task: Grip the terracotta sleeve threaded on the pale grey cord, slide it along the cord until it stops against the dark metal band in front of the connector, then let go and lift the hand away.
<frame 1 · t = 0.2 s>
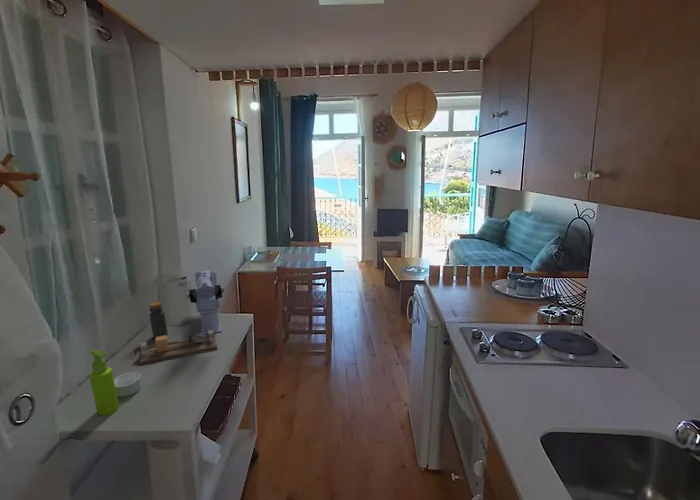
hand: (205, 298, 158), 21 cm above the worktop, tool horizontal, fingers open, 7 cm apart
sleeve: (162, 343, 161), point 4 cm above the worktop, slide at 0.0 cm
ramekin: (128, 391, 137), on the worktop
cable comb: (179, 349, 164), on the worktop
soap dispenser: (109, 410, 126), on the worktop
bottle: (160, 336, 177), on the worktop
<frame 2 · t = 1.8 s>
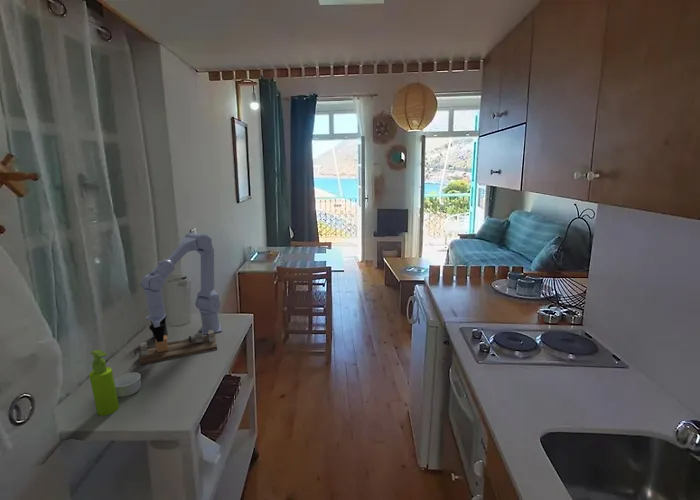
hand: (160, 337, 160), 7 cm above the worktop, tool pointing down, fingers open, 7 cm apart
nothing on the worktop moved.
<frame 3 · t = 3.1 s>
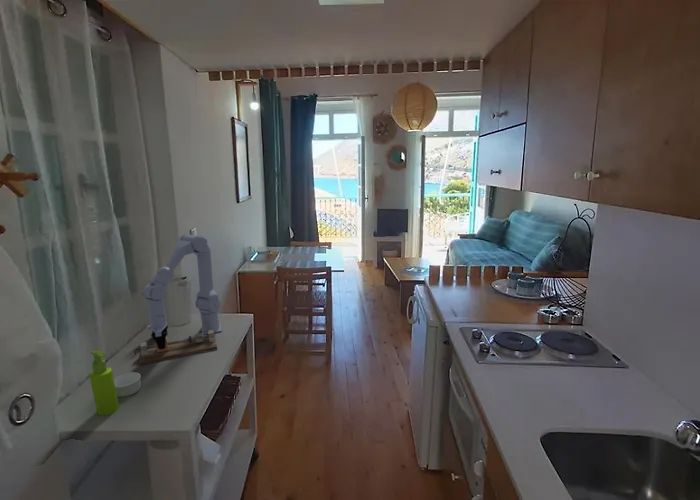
hand: (162, 346, 161), 3 cm above the worktop, tool pointing down, fingers closed on sleeve, 4 cm apart
sleeve: (162, 343, 161), point 4 cm above the worktop, slide at 0.0 cm, touching gripper
everything else where it was.
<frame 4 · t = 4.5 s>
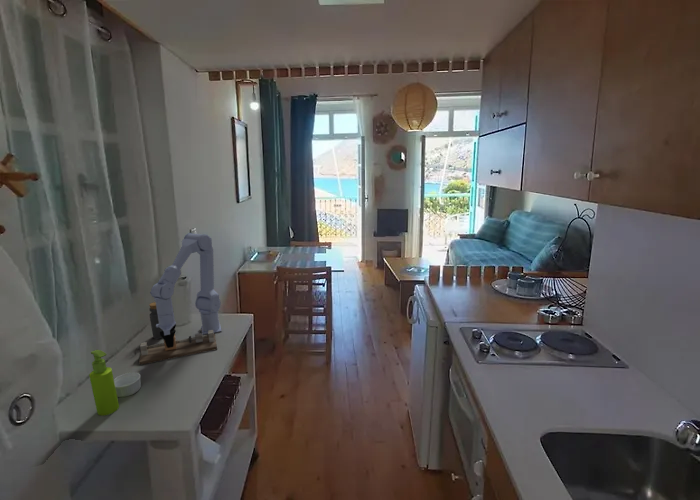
hand: (170, 344, 162), 3 cm above the worktop, tool pointing down, fingers closed on sleeve, 4 cm apart
sleeve: (170, 342, 162), point 4 cm above the worktop, slide at 3.0 cm, touching gripper
everything else where it was.
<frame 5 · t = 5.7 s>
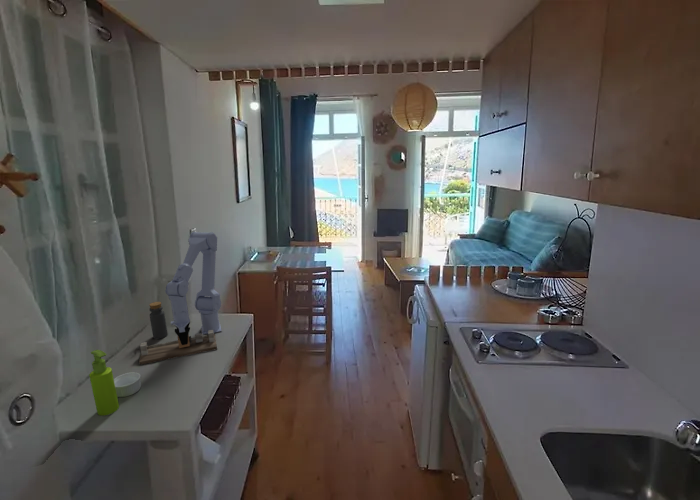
hand: (184, 341, 164), 3 cm above the worktop, tool pointing down, fingers closed on sleeve, 4 cm apart
sleeve: (183, 339, 164), point 4 cm above the worktop, slide at 8.0 cm, touching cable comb, gripper
everything else where it was.
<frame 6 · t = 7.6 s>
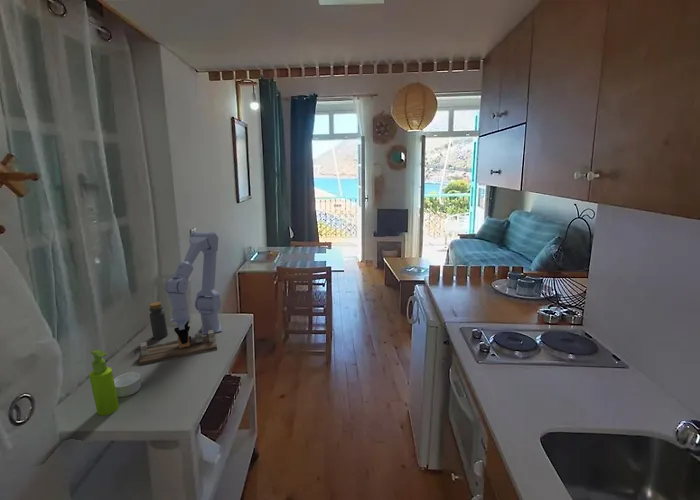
hand: (184, 339, 164), 4 cm above the worktop, tool pointing down, fingers open, 7 cm apart
sleeve: (183, 339, 164), point 4 cm above the worktop, slide at 8.0 cm, touching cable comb
everything else where it was.
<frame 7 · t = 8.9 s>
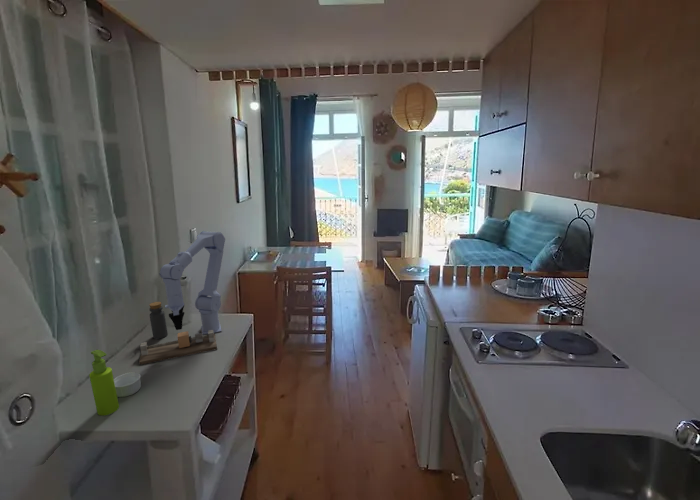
hand: (179, 325, 164), 9 cm above the worktop, tool pointing down, fingers open, 7 cm apart
nothing on the worktop moved.
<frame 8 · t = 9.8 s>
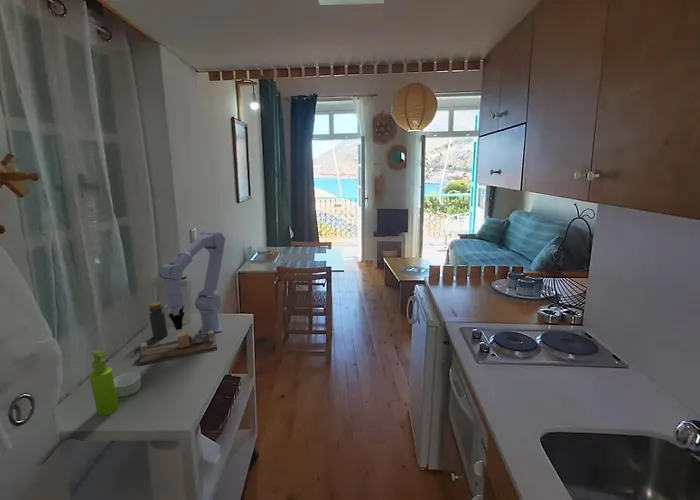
hand: (179, 325, 164), 9 cm above the worktop, tool pointing down, fingers open, 7 cm apart
nothing on the worktop moved.
at the end: sleeve slide at 8.0 cm; the gripper is holding nothing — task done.
